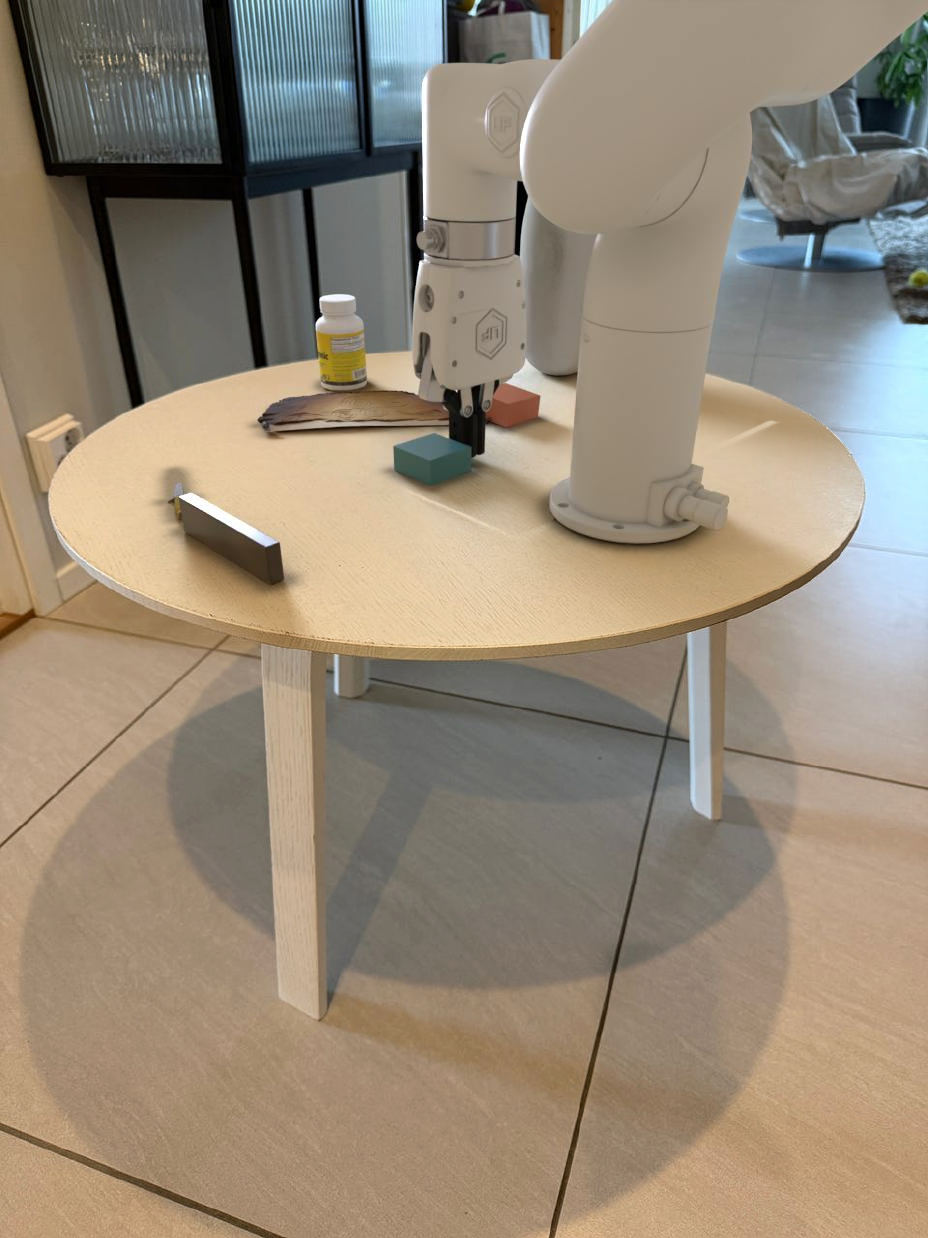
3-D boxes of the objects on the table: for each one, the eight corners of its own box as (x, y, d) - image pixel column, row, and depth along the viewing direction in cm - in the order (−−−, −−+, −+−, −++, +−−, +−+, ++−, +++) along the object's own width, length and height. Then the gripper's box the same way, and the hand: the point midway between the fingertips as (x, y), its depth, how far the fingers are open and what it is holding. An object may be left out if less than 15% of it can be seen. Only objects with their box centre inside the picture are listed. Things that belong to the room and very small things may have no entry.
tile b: (538, 418, 92) (540, 395, 91) (505, 427, 89) (508, 403, 88) (503, 405, 95) (505, 382, 94) (471, 413, 92) (473, 390, 91)
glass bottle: (515, 361, 111) (524, 105, 96) (596, 362, 111) (617, 106, 96) (516, 383, 103) (526, 108, 88) (603, 385, 102) (628, 108, 88)
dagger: (162, 473, 79) (184, 467, 79) (166, 482, 79) (188, 476, 80) (167, 515, 70) (192, 507, 70) (171, 525, 70) (196, 516, 71)
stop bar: (284, 579, 62) (280, 542, 61) (270, 585, 61) (265, 547, 60) (197, 527, 69) (191, 492, 68) (183, 531, 69) (177, 496, 67)
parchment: (256, 433, 87) (256, 424, 87) (262, 400, 95) (261, 392, 95) (501, 427, 90) (501, 419, 90) (486, 395, 98) (486, 388, 98)
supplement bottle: (319, 379, 104) (312, 293, 98) (365, 377, 104) (360, 291, 99) (321, 393, 99) (314, 303, 94) (369, 390, 100) (364, 301, 95)
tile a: (471, 472, 79) (471, 446, 78) (430, 487, 76) (430, 460, 75) (434, 457, 82) (434, 432, 81) (393, 471, 79) (392, 445, 78)
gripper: (432, 257, 65) (434, 485, 75) (563, 236, 74) (549, 443, 84) (369, 244, 70) (378, 461, 79) (500, 226, 78) (494, 424, 88)
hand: (466, 451), depth 81 cm, fingers closed
